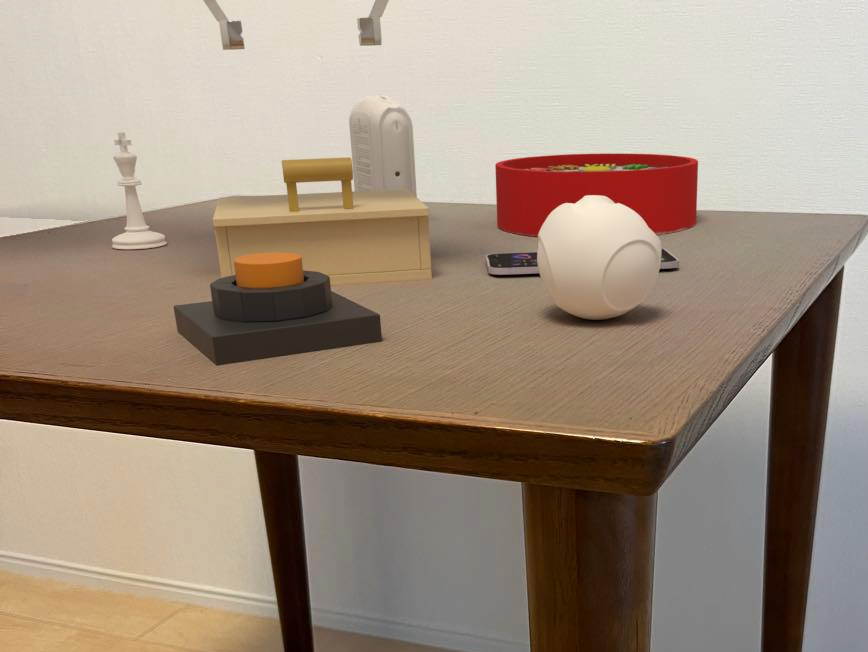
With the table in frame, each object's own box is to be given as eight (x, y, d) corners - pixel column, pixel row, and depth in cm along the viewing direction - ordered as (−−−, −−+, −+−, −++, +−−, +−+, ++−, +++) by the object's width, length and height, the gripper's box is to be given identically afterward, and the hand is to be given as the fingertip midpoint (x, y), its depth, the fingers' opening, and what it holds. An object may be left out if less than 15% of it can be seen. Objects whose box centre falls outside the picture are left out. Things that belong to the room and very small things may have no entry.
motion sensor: (674, 310, 72) (677, 188, 69) (636, 336, 66) (638, 203, 62) (562, 303, 75) (560, 185, 72) (516, 327, 69) (512, 199, 65)
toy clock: (573, 150, 120) (735, 157, 109) (573, 205, 123) (731, 217, 112) (453, 166, 106) (625, 175, 95) (456, 228, 108) (624, 244, 97)
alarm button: (247, 296, 64) (243, 265, 63) (229, 285, 67) (225, 256, 66) (313, 288, 66) (310, 258, 65) (293, 278, 69) (289, 250, 68)
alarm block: (216, 366, 61) (207, 304, 60) (177, 332, 69) (168, 276, 68) (382, 342, 66) (377, 283, 64) (327, 312, 74) (322, 260, 72)
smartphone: (681, 261, 85) (488, 268, 84) (681, 268, 85) (489, 276, 84) (663, 247, 92) (485, 253, 90) (663, 254, 92) (485, 260, 91)
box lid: (429, 215, 81) (426, 156, 80) (213, 227, 78) (204, 165, 76) (407, 196, 93) (404, 144, 91) (219, 205, 90) (212, 151, 88)
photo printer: (424, 226, 110) (416, 95, 105) (383, 230, 109) (373, 96, 104) (390, 215, 119) (381, 93, 114) (352, 218, 117) (341, 94, 112)
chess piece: (137, 251, 100) (118, 134, 96) (100, 247, 102) (80, 134, 98) (178, 243, 104) (161, 131, 100) (141, 240, 106) (123, 130, 102)
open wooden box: (432, 279, 84) (428, 215, 82) (223, 293, 81) (214, 226, 79) (411, 253, 95) (408, 196, 93) (227, 264, 92) (219, 205, 90)
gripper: (429, -175, 76) (443, 43, 81) (121, -178, 72) (157, 52, 77) (443, -194, 70) (456, 42, 76) (109, -199, 66) (149, 51, 72)
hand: (303, 47), depth 76 cm, fingers open, 8 cm apart
